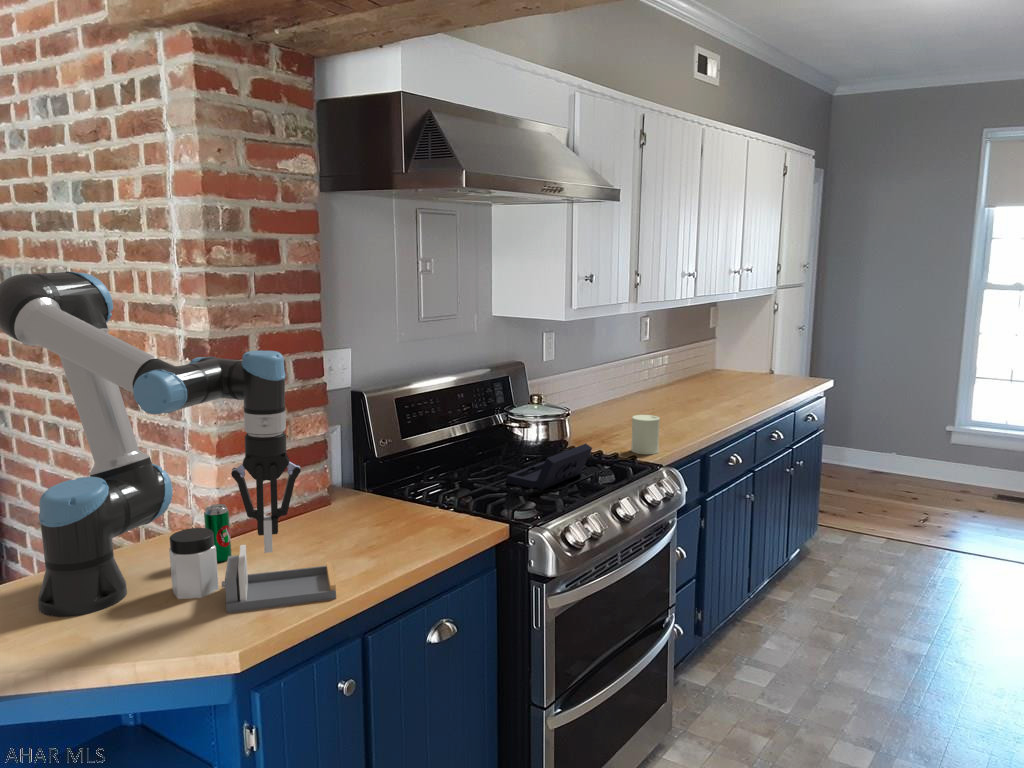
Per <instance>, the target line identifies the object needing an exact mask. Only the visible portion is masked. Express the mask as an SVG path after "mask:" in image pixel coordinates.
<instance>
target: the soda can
mask: <svg viewBox="0 0 1024 768" xmlns="http://www.w3.org/2000/svg"><path fill="white" fill-rule="evenodd" d="M203 516H204V517H203V518H204V519H203V520H204V521H203V522H204V528H207V529H210V530H212V531H213V534H214V545H215V546H216V556H217V564H220V562H221V563H224V561H225V562H227V561H228V556H233V555H232V542H231V541H232V540H231V527H230V512H229V509H228V508H227V504H223V503H215V504H210V505H208V506H206V507H205V510H204V512H203Z"/></svg>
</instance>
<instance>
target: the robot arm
mask: <svg viewBox="0 0 1024 768" xmlns="http://www.w3.org/2000/svg"><path fill="white" fill-rule="evenodd" d="M111 295H112V294H111V293H110V292H109V289H108V288H107V286H106V285H105V284H104V282H102V281H101V280H100V279H98V278H97V277H95V276H94V275H92V274H90V273H86V272H75V271H69V270H67V271H62V272H61V271H60V272H46V273H45V272H44V273H42V272H41V273H20V274H15V275H12V276H10V277H7V278H5V279H3V281H1V282H0V330H1V331H2V332H3V333H5V334H6V335H8V336H9V337H10V338H12V339H14V340H16V341H18V342H20V343H22V344H23V345H26V346H31V347H33V346H40V347H42V348H44V349H45V350H47V351H50V352H51V353H53V354H56V355H58V356H59V359H60V363H61V365H62V368H63V371H64V375H65V377H66V381H67V385H68V386H69V390H70V392H71V396H72V399H73V401H74V405H75V408H76V410H77V414H78V418H79V420H80V422H81V423H80V424H81V426H82V429H83V432H84V434H85V438H86V440H87V445H88V447H89V451H90V453H91V456H92V459H93V462H94V464H93V466H92V468H91V470H90V472H89V474H88V475H89V476H83V477H77V478H74V479H68V480H65V481H62V482H59V483H57V484H55V485H53V486H51V487H48V489H46V490H45V491H44V492H43V493H42V495H41V496H40V498H39V505H38V507H39V514H38V519H39V520H38V521H39V525H40V528H41V529H40V530H41V531H40V532H41V538H42V546H43V547H42V548H43V556H44V564H45V568H44V569H45V571H44V575H43V579H42V583H41V587H40V590H39V593H38V599H37V600H38V601H37V602H38V611H39V613H41V614H42V615H44V616H48V617H54V618H70V617H78V616H79V617H80V616H85V615H89V614H93V613H97V612H100V611H103V610H106V609H108V608H111V607H113V606H115V605H117V604H118V603H120V602H121V601H123V599H125V598H126V596H127V595H128V588H127V581H126V579H125V578H124V575H123V573H122V571H121V569H120V567H119V565H118V563H117V562H116V559H115V555H114V545H113V539H114V538H116V537H119V536H121V535H123V534H125V533H128V532H129V531H132V530H134V529H136V528H139V527H142V526H144V525H148V524H150V523H152V522H153V521H154V520H156V519H158V518H160V517H162V516H163V515H164V514H165V513H166V512H167V511H168V508H169V506H170V505H171V503H172V499H173V495H174V494H173V491H174V490H173V485H172V481H171V478H170V476H169V474H168V473H167V471H166V470H163V468H162V466H160V465H158V464H155V463H153V462H152V460H151V457H150V454H147V453H145V452H143V451H141V450H140V448H139V445H138V442H137V438H136V436H135V434H134V429H133V427H132V424H131V421H130V417H129V415H128V411H127V409H126V405H125V403H124V400H123V396H122V393H121V390H120V387H121V388H123V389H125V390H126V391H128V392H130V393H132V394H133V398H134V401H135V403H136V404H138V406H139V407H140V410H142V411H143V412H145V413H147V414H149V415H161V414H170V413H174V412H176V411H180V410H183V409H185V408H189V407H192V406H196V405H200V404H205V403H208V402H212V401H215V400H219V399H227V400H228V399H229V400H237V401H238V400H239V401H243V419H244V420H243V421H244V422H243V423H244V432H246V434H245V435H244V458H243V460H242V464H241V465H239V466H237V467H233V468H232V469H231V477H232V478H233V479H234V481H235V482H236V483H237V487H238V489H239V493H240V497H241V501H242V503H243V506H244V509H245V510H244V511H245V513H246V515H247V518H249V519H256V521H257V522H256V523H257V524H256V525H257V526H256V527H257V535H258V536H263V546H264V547H263V551H264V554H266V553H273V535H278V533H279V518H280V517H283V516H287V514H288V511H289V508H290V503H291V499H292V497H293V490H294V487H295V483H296V480H297V478H298V477H299V475H300V474H301V465H299V464H295V463H293V462H291V461H290V458H289V456H288V455H287V434H286V432H285V431H286V429H287V421H286V419H287V418H286V417H287V416H286V400H285V399H286V393H285V392H286V375H287V374H286V372H285V359H284V356H283V354H282V353H280V351H275V350H251V351H246V352H244V353H243V355H242V360H238V359H228V358H220V357H215V356H207V357H206V356H203V357H202V356H199V357H195V358H193V359H191V361H190V362H189V363H187V364H182V365H173V364H171V363H168V362H166V361H164V360H162V359H160V358H159V357H156V356H154V355H152V354H150V353H148V352H146V351H144V350H142V349H140V348H138V347H136V346H135V345H132V344H130V343H128V342H126V341H124V340H122V339H120V338H118V337H117V336H114V335H112V334H110V333H109V327H108V324H107V323H108V322H109V321H110V320H111V317H112V315H113V313H112V311H113V310H114V303H113V297H112V296H111ZM286 469H287V475H288V477H287V481H286V485H285V489H284V494H283V498H282V502H281V507H279V508H278V505H279V504H278V479H279V478H280V477H281V476H282V474H283V473H284V472H285V470H286ZM245 470H246V471H247V473H248V474H249V475H250V476H251V477H252V479H253V480H255V481H256V482H255V484H256V485H255V486H256V509H255V508H254V506H253V502H252V499H251V496H250V492H249V489H248V485H247V482H246V479H245V477H246V472H245ZM265 481H269V482H270V483H269V484H270V485H269V486H270V512H271V515H265V506H264V505H265V502H264V499H265V498H264V482H265Z"/></svg>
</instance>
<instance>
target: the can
mask: <svg viewBox="0 0 1024 768" xmlns="http://www.w3.org/2000/svg"><path fill="white" fill-rule="evenodd" d="M660 421H661V419H660V416H657V415H653V414H652V415H651V414H637V415H632V417H631V425H632V426H631V449H630V452H632V453H633V454H638V455H648V456H649V455H656V454H658V453H659V452H660V450H659V449H660V448H659V446H660V443H659V442H660V439H659V437H660Z"/></svg>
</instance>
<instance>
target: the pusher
mask: <svg viewBox="0 0 1024 768" xmlns="http://www.w3.org/2000/svg"><path fill="white" fill-rule="evenodd" d="M247 559H248V558H247V545H246V544H240V545H239V564H238V572H239V580H238V586H239V588H240V601H247V590H248V560H247ZM221 588H222V589H223V588H224V589H225V580H222V581H221Z"/></svg>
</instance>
